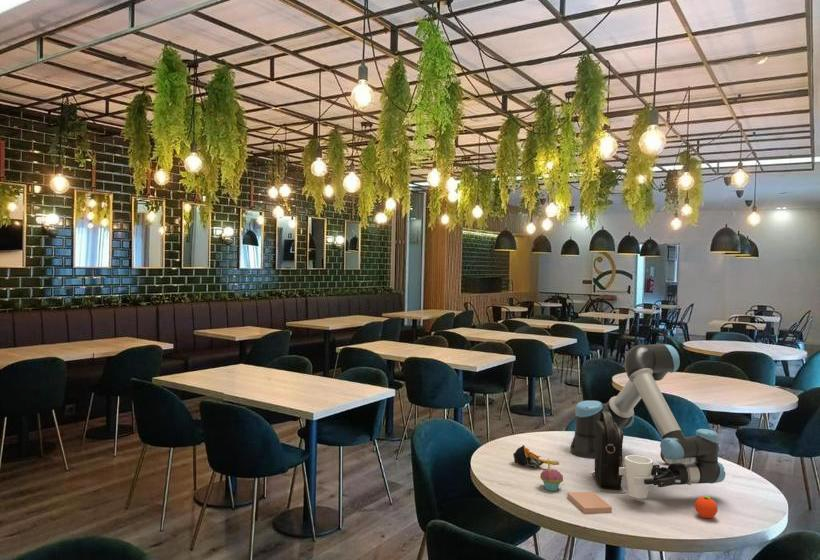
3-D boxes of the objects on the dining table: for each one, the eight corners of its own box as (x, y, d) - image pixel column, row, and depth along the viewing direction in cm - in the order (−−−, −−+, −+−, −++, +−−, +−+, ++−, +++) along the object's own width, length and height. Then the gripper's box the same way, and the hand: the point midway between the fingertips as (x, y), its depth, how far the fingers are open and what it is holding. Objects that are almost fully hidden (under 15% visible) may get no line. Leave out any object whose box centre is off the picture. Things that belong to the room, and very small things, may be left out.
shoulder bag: (589, 471, 239) (591, 404, 239) (612, 472, 238) (614, 405, 237) (600, 491, 217) (602, 418, 216) (625, 493, 216) (627, 420, 215)
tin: (695, 464, 250) (696, 445, 250) (698, 467, 247) (698, 448, 247) (659, 462, 252) (660, 443, 252) (662, 465, 249) (662, 446, 248)
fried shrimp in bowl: (512, 449, 251) (552, 439, 248) (519, 474, 247) (560, 465, 243) (509, 446, 243) (551, 436, 240) (516, 473, 238) (558, 463, 235)
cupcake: (550, 494, 213) (551, 462, 213) (535, 486, 221) (536, 455, 221) (567, 490, 217) (568, 459, 217) (552, 483, 225) (553, 452, 224)
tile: (592, 491, 212) (567, 492, 211) (611, 507, 199) (584, 508, 197) (592, 497, 212) (567, 498, 211) (611, 513, 199) (584, 514, 197)
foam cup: (650, 492, 211) (652, 457, 210) (652, 501, 202) (653, 465, 202) (623, 488, 214) (624, 453, 214) (624, 497, 205) (625, 461, 205)
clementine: (700, 510, 202) (701, 490, 202) (721, 517, 197) (722, 496, 197) (690, 516, 197) (691, 496, 197) (712, 523, 192) (713, 502, 192)
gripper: (702, 495, 200) (644, 498, 196) (664, 473, 222) (610, 475, 218) (703, 474, 200) (645, 476, 196) (664, 453, 222) (611, 455, 218)
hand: (627, 476), depth 207 cm, fingers closed on foam cup, 9 cm apart
